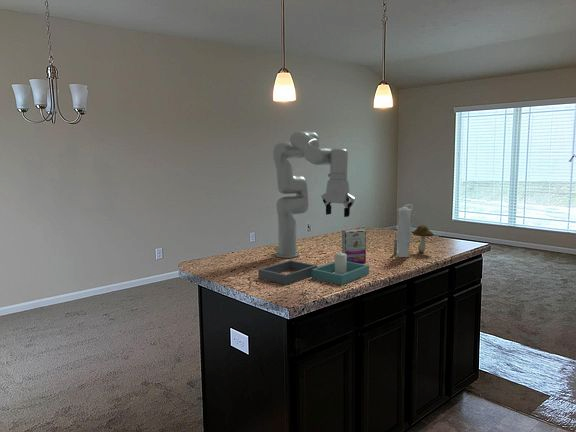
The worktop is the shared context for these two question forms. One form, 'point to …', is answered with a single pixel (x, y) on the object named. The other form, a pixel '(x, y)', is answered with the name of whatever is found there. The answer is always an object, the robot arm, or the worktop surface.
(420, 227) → the mushroom
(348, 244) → the candy bar box
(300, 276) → the bin
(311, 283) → the worktop surface
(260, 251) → the worktop surface
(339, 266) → the canister
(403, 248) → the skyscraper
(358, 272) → the bin
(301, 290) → the worktop surface
